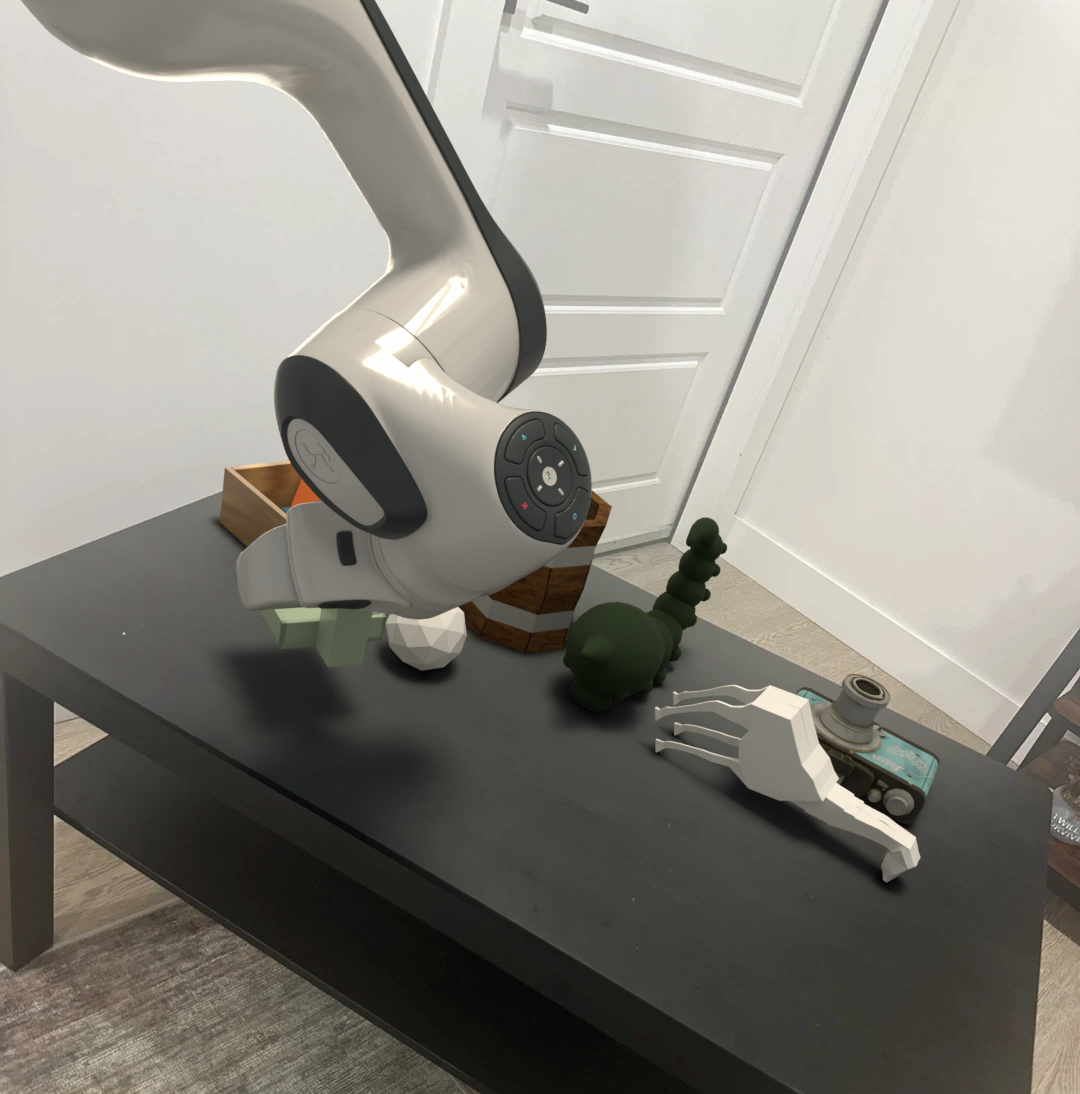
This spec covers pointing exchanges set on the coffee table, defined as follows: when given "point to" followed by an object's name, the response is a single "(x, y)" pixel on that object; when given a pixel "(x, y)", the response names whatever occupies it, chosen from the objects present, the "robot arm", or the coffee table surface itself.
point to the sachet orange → (304, 495)
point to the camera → (871, 749)
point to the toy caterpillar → (641, 629)
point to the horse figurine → (791, 764)
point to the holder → (257, 498)
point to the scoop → (326, 631)
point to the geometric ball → (427, 638)
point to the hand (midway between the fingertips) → (346, 594)
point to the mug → (541, 595)
